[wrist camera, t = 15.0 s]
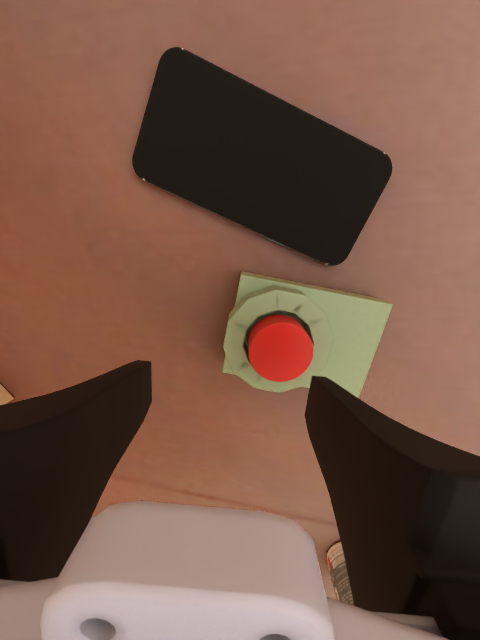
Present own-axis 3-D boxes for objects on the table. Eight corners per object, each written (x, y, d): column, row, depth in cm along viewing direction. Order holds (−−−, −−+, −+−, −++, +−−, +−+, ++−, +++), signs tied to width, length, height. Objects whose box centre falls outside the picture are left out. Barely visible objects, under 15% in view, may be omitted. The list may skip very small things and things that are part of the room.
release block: (221, 358, 20) (215, 385, 17) (237, 270, 19) (236, 276, 15) (347, 382, 21) (370, 413, 17) (376, 297, 19) (410, 311, 15)
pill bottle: (316, 553, 26) (347, 690, 18) (354, 530, 25) (404, 663, 17) (345, 577, 27) (387, 718, 19) (383, 555, 26) (444, 694, 18)
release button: (243, 362, 17) (242, 376, 15) (254, 308, 16) (255, 316, 14) (298, 373, 17) (304, 387, 15) (313, 320, 16) (321, 329, 14)
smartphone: (165, 37, 14) (400, 159, 16) (168, 46, 15) (394, 162, 16) (127, 173, 16) (339, 271, 18) (132, 176, 17) (336, 270, 18)
